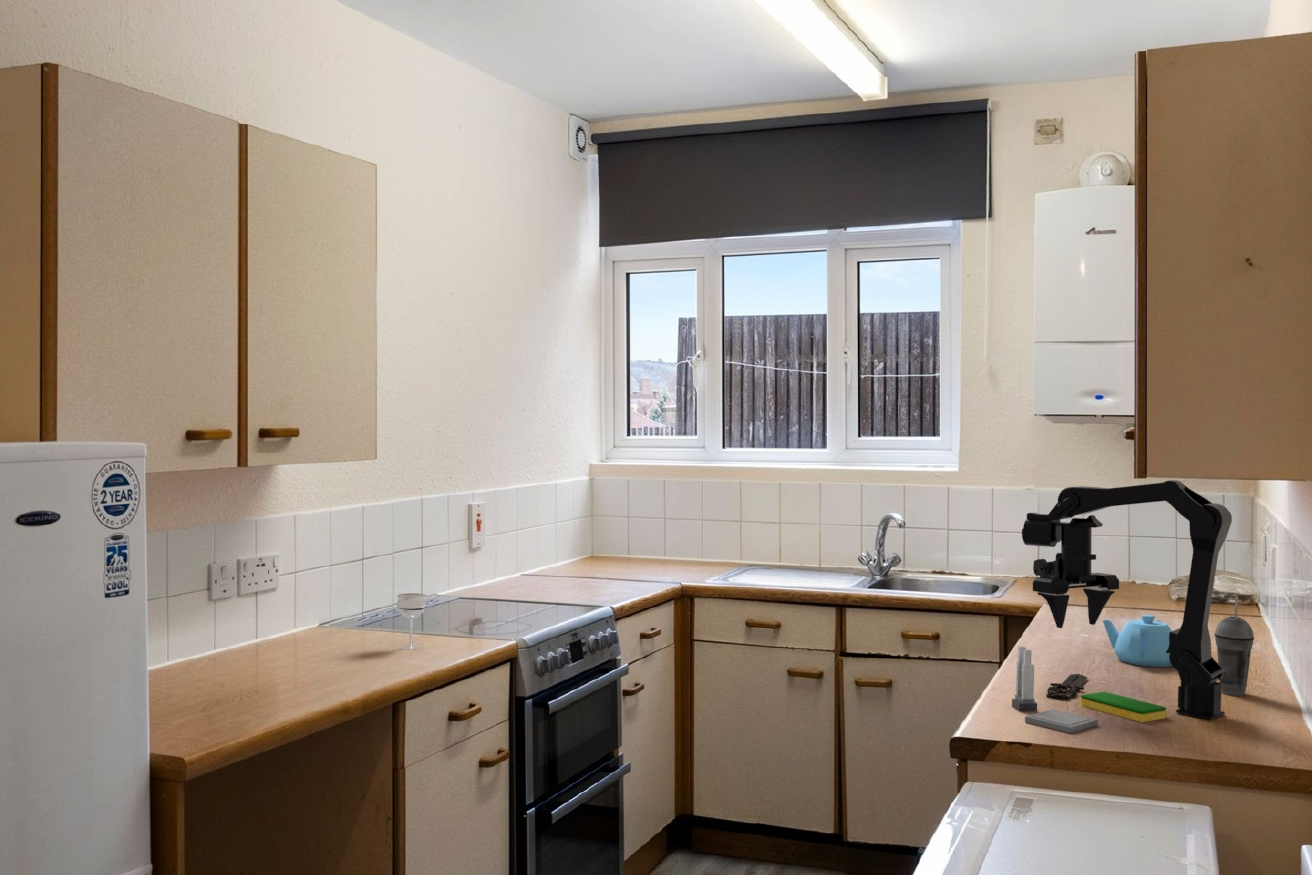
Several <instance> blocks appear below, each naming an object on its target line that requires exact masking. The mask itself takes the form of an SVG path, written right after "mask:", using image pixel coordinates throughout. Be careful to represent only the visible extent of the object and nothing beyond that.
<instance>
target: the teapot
mask: <svg viewBox="0 0 1312 875" xmlns="http://www.w3.org/2000/svg"><path fill="white" fill-rule="evenodd" d="M1155 618H1156V617H1155V615H1153V614H1141V619H1131V620H1129V621H1128V622H1127V623H1126V624H1125V625H1124V627H1123V628H1122V629H1121V631H1120V632H1118V630H1117V628H1116V627H1115V626H1114V624H1113V622H1112V620H1111V619H1103V620H1102V624H1103V625H1104V628H1105V630H1106V633H1107V636H1108V639H1109V642H1110V643H1111V644H1110V645H1111V647H1112V649H1113V650H1114V653H1115V655H1116V656H1117V658H1118V659H1119V661H1121V662H1123V663H1126V662H1127V664H1129V663H1130V665H1134V664H1135V665H1134V666H1141V667H1151V668H1154V667H1155V668H1168V667H1173V666H1172V664H1170V661H1169V654H1170V653H1166V651H1167V649H1168V647H1169V633H1170V632H1171V631H1173V630H1172V629H1171V627H1170V626H1169V624H1167V623H1166V622H1163V621H1162V620H1155Z"/></svg>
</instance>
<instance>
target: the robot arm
mask: <svg viewBox="0 0 1312 875" xmlns="http://www.w3.org/2000/svg"><path fill="white" fill-rule="evenodd" d="M1157 502H1158V503H1159V502H1166V503H1167V504H1169V505H1170V506H1171V507H1172V508H1174V510H1176V511H1177V513H1178V514H1179V515H1181V516H1182V517H1183V518H1184V519H1186V520H1187V521H1188V523H1189V524H1188V525H1189V537H1190V541H1191V546H1192V556H1191V564H1190V570H1189V576H1188V577H1189V578H1188V584H1187V589H1186V590H1187V591H1186V598H1185V605H1184V611H1183V618H1182V622H1181V626H1180V628H1176V629H1174V630H1172V631H1171V632H1170V633H1169V647H1168V649H1167V651H1166V653H1170V654H1169V661H1170V664H1172V666H1171V667H1173V669H1174V670H1175V671H1177V675H1178V677H1179V680H1180V685H1178V687H1177V691H1178V692H1177V709H1175V713H1177V714H1181V715H1186V716H1192V717H1197V718H1201V719H1206V720H1213V719H1215V718H1216V719H1217V718H1219V717H1223V716H1225V714H1226V712H1225V711H1222V693H1221V686H1222V683H1219V680H1220V679H1221V677H1222V675H1223V672H1224V669H1223V668H1222V667H1221V666H1220V665H1219V664H1218V661H1217V660H1215V658H1214V657H1213V656H1212V640H1211V636H1210V631H1209V620H1210V619H1209V618H1210V612H1211V606H1212V599H1213V592H1214V585H1215V579H1216V573H1217V566H1218V565H1217V564H1218V558H1219V553H1220V551H1221V549H1222V546H1223V545H1224V544H1225V543H1224V542H1225V541H1226V539H1227V536H1228V533H1229V531H1230V528H1231V524H1232V521H1233V517H1232V513H1231V512H1230V511H1229V509H1228V508H1227V507H1226V506H1225V505H1223V504H1219V503H1216V502H1215V503H1214V502H1213V503H1212V501H1210V500H1209V499H1207V498H1205V496H1202V495H1201V494H1199V493H1198V492H1196V491H1194V490H1192V489H1191V488H1189V487H1188V486H1186V485H1185V484H1184V483H1183V482H1182V481H1181V480H1177V479H1176V480H1175V479H1171V480H1170V479H1169V480H1165V481H1161V482H1156V483H1147V484H1145V483H1144V484H1138V485H1131V486H1129V485H1128V486H1127V485H1126V486H1121V487H1111V488H1110V487H1098V486H1085V485H1084V486H1068V487H1065V488H1063V489H1062V490H1061V491H1060V492H1059V494H1058V496H1057V503H1056V504H1055V505H1054V506H1053V507H1052V509H1051V511H1049V513H1048V514H1047V513H1046V514H1045V513H1038V512H1028V513H1026V519H1025V520H1024V523H1023V528H1022V529H1021V538H1022V542H1023V543H1024V545H1025V546H1032V547H1033V546H1034V547H1045V548H1046V547H1047V548H1049V547H1050V548H1054V547H1056V546H1057V544H1058V543H1060V549H1061V550H1060V552H1057V553H1056V554H1055V560H1052V561H1047V560H1046V559H1045V558H1038V559H1035V560H1033V565H1032V566H1033V568H1032V569H1033V574H1034V575H1035V576H1036V577H1035V578H1034V579H1033V581H1032V592H1036V593H1037V595H1038V596H1041V597H1043V599H1044V600H1045V601H1046V603H1047V605H1048V606H1049V607H1048V608H1049V609H1050V611H1051V615H1052V617H1053V620H1054V624H1055V625H1056V628H1057V629H1063V627H1064V623H1065V620H1066V614H1067V609H1068V604H1069V600H1070V594H1067V593H1068V591H1069V589H1079V588H1082V590H1083V592H1084V594H1085V596H1086V597H1087V598H1086V599H1087V615H1088V621H1089V624H1090V625H1091V626H1094V625H1096V623H1097V621H1098V619H1099V617H1100V615H1101V614H1102V612H1103V609H1104V608H1105V606H1106V605H1107V603H1108V601H1109V599H1110V598H1111V596H1112V595H1114V594H1115V590H1120V579H1119V578H1118V577H1117V575H1116V574H1112V573H1111V574H1110V573H1102V572H1092V560H1093V561H1095V560H1097V554H1093V553H1092V528H1094V529H1096V528H1102V527H1103V524H1104V523H1102V522H1101V521H1100V520H1099V519H1098V518H1096V516H1095V515H1094V514H1091V513H1094V512H1097V511H1098V512H1099V511H1101V510H1104V509H1107V508H1111V507H1118V506H1126V505H1127V506H1129V505H1137V504H1146V503H1157ZM1086 514H1090V515H1088V517H1086V518H1081V517H1080V518H1079V517H1075V516H1081V515H1086ZM1066 519H1067V520H1068V519H1070V522H1067V521H1066V522H1064V521H1063V522H1061V520H1066Z"/></svg>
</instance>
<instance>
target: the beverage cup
mask: <svg viewBox="0 0 1312 875" xmlns="http://www.w3.org/2000/svg"><path fill="white" fill-rule="evenodd" d="M1234 601H1235V603H1234V613H1233V615H1234V616H1228V617H1225V618H1223V619H1221V620H1220V621H1219V622H1218V624H1217V625H1216V628H1215V633H1214V638H1215V644H1216V645H1215V646H1216V653H1217V663H1218V664H1219V665H1220V666H1221V667H1222V668H1223V669H1224V672H1223V675H1222V677H1221V679H1220V680H1218V683H1222V686H1221V694H1224V695H1228V696H1233V697H1236V696H1237V697H1242V696H1245V695H1246V690H1247V687H1248V686H1247V685H1248V678H1249V670H1250V661H1251V653H1252V649H1253V647H1254V646H1253V645H1254V640H1255V637H1254V631H1253V629H1252V627H1251V625H1250V624H1249V622H1247V621H1246V620H1245V619H1244V618H1242V617H1238V608H1239V596H1238V595H1235V600H1234Z"/></svg>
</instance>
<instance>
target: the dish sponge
mask: <svg viewBox="0 0 1312 875" xmlns="http://www.w3.org/2000/svg"><path fill="white" fill-rule="evenodd" d="M1080 706H1081V707H1084V708H1089V709H1093V710H1096V711H1100V712H1104V713H1107V714H1110V715H1115V716H1118V717H1122V718H1125V719H1129V720H1132V721H1137V722H1140V723H1145V722H1147V723H1148V722H1152V721H1156V720H1163V719H1166V718H1167V711H1166V710H1167V707H1166V706H1162V705H1158V704H1154V703H1151V702H1147V701H1144V700H1139V699H1135V698H1131V697H1127V696H1123V695H1120V694H1116V693H1112V692H1107V691H1100V692H1093V693H1086V694H1082V695H1080Z"/></svg>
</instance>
